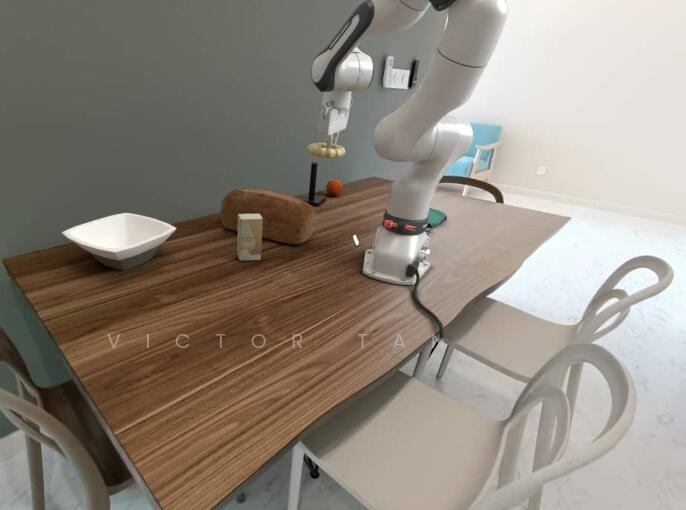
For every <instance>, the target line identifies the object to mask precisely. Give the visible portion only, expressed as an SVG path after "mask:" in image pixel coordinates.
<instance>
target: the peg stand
mask: <svg viewBox="0 0 686 510" xmlns="http://www.w3.org/2000/svg"><path fill="white" fill-rule="evenodd" d="M310 165H311V166H310V178H309V188H308V193H305V194H303V195H301V196H300V197H299V198H298V197H297V198H298V199H301V200H303V201H305V202H307V203H308V204H310V205H311V206H312V207H317V208H318V207H320V206H321V205H322V204H324V202H326V196H325V197H324V196H319V195H316V185H317V174H318V162H316V161H312V162H311V163H310Z"/></svg>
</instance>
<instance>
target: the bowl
mask: <svg viewBox="0 0 686 510" xmlns="http://www.w3.org/2000/svg"><path fill="white" fill-rule="evenodd" d="M176 230H177V227H175V226H173V225H172V224H170V223H168V222H165V221H162V220H159V219H157V218H153V217H149V216H147V215H141V214H138V213H137V214H135V213H130V212H122V213H117V214H112V215H108V216H104V217H102V218H97V219H94V220H91V221H88V222H85V223H81V224H78V225H74V226H73V227H71V228H67V229H66V230H64V231H61V234H62V235H63V236H64V237H66V238H67V239H68V240H69V241H71V242H72V243H74V244H76V245H77V246H79V247H80V248H81V249H83V250H84V251H86V252H88V253H89V254H90V255H91V256H92V257H94V258H95V259H96V260H97V261H98V262H100V263H101V264H102V265H104V266H106V267H109V268H112V269H115V270H120V271H126V270H130V269H132V268H135V267H138V266H140V265H142V264H144V263H146V262H148V261H149V260H151V259H152V258H154V256H155V255H156V253H157V252H158V250H159V249H160V248H161V246H162V245H163V243H165V242H166V241H167V240H168V239H169V238H170V237H171V235H172V234H173V233H174V232H175V231H176Z"/></svg>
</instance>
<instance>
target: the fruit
mask: <svg viewBox="0 0 686 510" xmlns="http://www.w3.org/2000/svg"><path fill="white" fill-rule="evenodd" d="M343 187H344V186H343V183H342V182H341V180H339V179H337V178H333V179H330V180H328V181H327V183H326V186H325V189H326V192H327V194H328V195H329V196H331V197H337V196H340V194H341V193H342V192H343V189H344V188H343Z"/></svg>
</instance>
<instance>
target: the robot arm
mask: <svg viewBox="0 0 686 510" xmlns="http://www.w3.org/2000/svg"><path fill="white" fill-rule="evenodd" d="M430 6H432V8H433V9H434V10H435V11H436V12H442V11H445V10H446V12H447V21H446V26H445V28H444V31H443V33H442V36H441V37H440V40H439V42H438V45H437V47H436V49H435V52H434V54H433V56H432V59H431V61H430V63H429V65H428V68H427V70H426V72H425V74H424V76H423V78H422V80H421V82H420V83H419V85H418V87H417V88H416V90H414V92H413V93H412V95H411V96H410V97H409V98H408V99H407V100H406V101H405V102H404V103H403V104H402V105H401V106H400V107H399V108H397V109H396V110H395V111H393V112H392V113H390V114H388V115H387V116H384V117H383V118H382V119H381V120H379V122H378V123H377V125H376V126H375V129H374V132H373V140H372V141H373V147H374V151H375V153H376V155H377V156H378V157H379V158H381V159H384V160H387V161H391V162H397V163H412V164H411V166H410V167H409V169H408V170H407V171H405V173H403V174H402V175H400V176H398V177H396V178H395V179H394V181H392V183H391V186H390V189H389V194H388V195H389V196H388V201H387V205H386V209H385V210H384V213H383V216H382V222H381V225H380V226H378V227H376V232H375V238H374V243H372V244H371V246H370V248H371V249H370V248H369V249H366V250H365V251H364V257H363V263H362V264H363V265H362V274H363V275H365V276H367V277H369V278H371V279H375V280H378V281H381V282H385V283H390V284H394V285H402V286H413V290H412V293H413V294H412V296H413V299H414V301H415V303H416V305H417V306H418V307H419V308H420V309H421V310H423V311H424V313H426V314H427V315H429V316H430V317H431V318H432V319H433V320H434V321H435V323H436V324H437V326H438V332H439V339H441V340H444V339H445V333H444V325H443V323H442V321H441V320H440V319H439V318H438V316H437V315H436V314H435V313H434V312H433V311H432V310H430V309H429V308H427V307H426V306H425V305H424V304H422V302H421V300H420V299H419V297H418V295H417V294H418V293H417V291H418V287H419V285H420V281H421V278H422V276H424V275H425V274H426V272H427V271H428V270H429V269H430V268H431V262H428V261H426V256H427V254H430V251H431V250H429V243H430V237H429V235H428V236H427V235H426V233H427V232H425V230H427V229H426V228H428V225H429V224H428V219H429V217H428V212H429V208H431V204H432V201H433V198H434V194H435V192H436V189H437V187H438V185H439V183H440V182H441V180H442V178H443V176H445V174H446V172H447V171H448V170H449V169H450V168H451V167H452V165H454V164H455V163H456V162H457V161H459V160H460V159H461V158H463V157H464V156H465V155H466V154H467V153H468V151H469V150H470V148H471V146H472V144H473V139H474V131H473V126H472V125H471V123H470V121H468V120H467V119H464V118H462V117H458V116H455V115H451V114H450V113H452V112H454V111H455V110H457V109H458V108H460V107H462V106H463V105H464V104H465V105H466V103H467V102H468V101H469V100H470V98H471V96H472V95H473V93H474V91H475V89H476V87H477V85H478V83H479V82H480V79H481V77H482V76H483V74H484V72H485V70H486V68H487V66H488V64H489V62H490V60H491V58H492V56H493V54H494V52H495V50H496V48H497V46H498V44H499V41H500V38H501V36H502V33H503V30H504V28H505V24H506V22H507V18H508V14H509V5H508V2H507V0H363V2H361V3H360V4H359V5H358V6H357V7H356V8H355V9H354V10H353V11H352V12H351V14H350V15H349V16H348V18H347V19H346V20H345V22H344V23H343V25H341V27H340V29H339V30H338V31H337V32H336V33H335V35H334V36H333V37H332V39H331V41H330V42H329V43H328V44H327V45H326V46H325V47H324V48H323V49H321V50H320V52H318V53H317V55H316V56H315V57H314V59H313V62H312V64H311V67H310V78H311V81H312V83H313V85H314V86H315V87H316V88H317V90H318V91H320V92H321V93H322V97H321V98H322V99H321V106H322V107H323V108H322V109H320V114H319V119H318V127H317V133H318V135H319V136H324V137H325V143H326V148H331V147H332V145H333V144H336V145H337V141H338V139H339V134H340V132H341V131H343V130H346V128H347V125H348V121H349V118H350V117H349V116H350V111H351V107H352V106H353V97H352V93H353V92H356V93H357V92H358V93H360V92H365V91H366V90H368V89H369V88H370V87H371V85H372V83H373V82H374V79H375V73H376V65H375V62H374V60H373V58H372V57H371V55H369V54H366V53H364V52H363V51H362V50H361V49H360V48H358V46H359V45H360V44H361V43H363V42H364V41H366V40H368V39H372V38H375V37H379V36H384V35H385V36H386V35H391V34H399V33H402V32H405V31H407V30H409V29H410V28H411V27H413V26H414V25H415V24H416V23H417V22H419V20H420V19H421V18H422V17H423V16H424V14H426V12H427V11H428V9H429V8H430ZM449 114H450V115H449ZM353 240H354V242H355V244H356V245H357V246H358V245H359V241H358V239H357V236H356V235H353Z"/></svg>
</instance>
